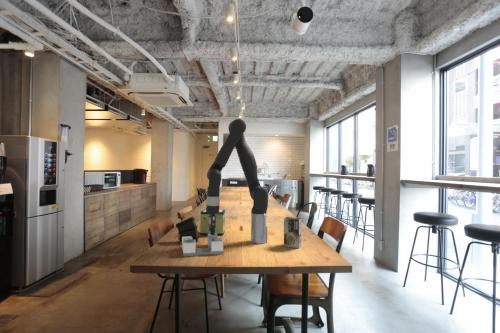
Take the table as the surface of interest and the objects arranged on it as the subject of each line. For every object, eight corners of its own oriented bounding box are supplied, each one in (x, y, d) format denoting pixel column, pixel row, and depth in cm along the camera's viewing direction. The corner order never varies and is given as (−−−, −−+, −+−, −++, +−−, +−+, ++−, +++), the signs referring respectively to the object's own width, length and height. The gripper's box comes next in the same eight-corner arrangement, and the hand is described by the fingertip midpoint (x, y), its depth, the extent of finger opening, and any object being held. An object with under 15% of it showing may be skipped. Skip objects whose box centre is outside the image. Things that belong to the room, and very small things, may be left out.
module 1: (190, 246, 146) (191, 236, 146) (192, 249, 142) (192, 237, 142) (181, 247, 144) (181, 237, 144) (183, 250, 140) (183, 238, 140)
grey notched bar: (221, 249, 141) (221, 237, 141) (223, 254, 134) (223, 241, 134) (183, 252, 136) (183, 239, 136) (183, 256, 129) (183, 243, 129)
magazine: (201, 240, 152) (191, 217, 153) (182, 249, 154) (172, 225, 155) (203, 239, 156) (193, 215, 157) (184, 247, 158) (174, 224, 159)
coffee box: (301, 245, 151) (302, 217, 151) (299, 248, 145) (299, 219, 145) (286, 243, 155) (286, 216, 155) (283, 246, 149) (283, 218, 149)
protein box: (223, 235, 171) (223, 212, 171) (199, 235, 171) (200, 211, 171) (225, 231, 181) (225, 209, 181) (202, 231, 181) (203, 209, 181)
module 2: (216, 244, 151) (216, 232, 151) (217, 246, 146) (217, 234, 146) (207, 245, 150) (207, 233, 150) (208, 247, 145) (208, 235, 145)
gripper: (221, 206, 142) (220, 235, 142) (218, 202, 156) (217, 229, 156) (207, 206, 140) (206, 236, 140) (205, 202, 154) (204, 230, 154)
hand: (211, 232), depth 148 cm, fingers open, 8 cm apart
